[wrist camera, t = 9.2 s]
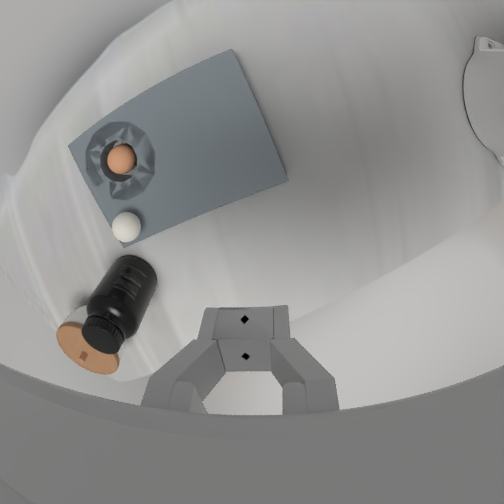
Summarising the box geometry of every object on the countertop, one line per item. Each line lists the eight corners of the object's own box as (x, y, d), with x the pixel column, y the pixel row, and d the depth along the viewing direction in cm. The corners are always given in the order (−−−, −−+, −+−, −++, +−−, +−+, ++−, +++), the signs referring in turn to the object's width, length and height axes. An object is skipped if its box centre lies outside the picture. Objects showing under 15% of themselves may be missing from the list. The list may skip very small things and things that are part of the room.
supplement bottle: (104, 263, 35) (62, 322, 24) (140, 247, 33) (99, 310, 23) (131, 300, 38) (100, 363, 27) (167, 288, 36) (140, 357, 26)
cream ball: (135, 202, 28) (123, 214, 25) (150, 227, 29) (139, 241, 26) (114, 214, 28) (101, 226, 25) (128, 237, 30) (117, 251, 27)
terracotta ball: (128, 140, 24) (106, 140, 25) (119, 170, 24) (98, 169, 25) (145, 150, 27) (123, 149, 28) (137, 178, 27) (116, 176, 28)
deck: (234, 53, 22) (231, 48, 20) (286, 174, 28) (288, 180, 26) (79, 141, 26) (67, 145, 24) (131, 238, 33) (123, 248, 30)
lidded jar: (113, 288, 37) (86, 333, 29) (144, 339, 42) (127, 385, 34) (66, 295, 38) (39, 334, 30) (97, 341, 43) (78, 380, 35)
